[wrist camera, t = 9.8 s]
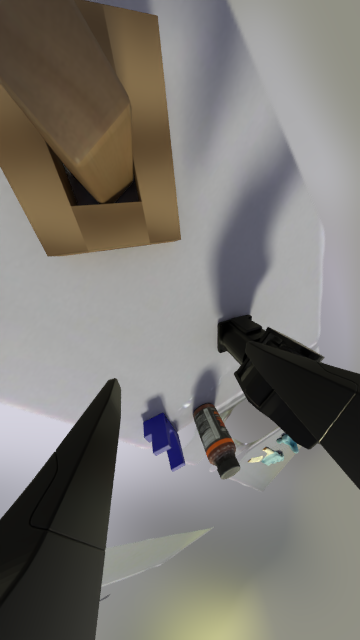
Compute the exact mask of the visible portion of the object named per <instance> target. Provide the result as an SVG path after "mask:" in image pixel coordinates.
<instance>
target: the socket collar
mask: <svg viewBox="0 0 360 640" xmlns="http://www.w3.org/2000/svg"><path fill="white" fill-rule="evenodd" d="M74 1H75V3H76V5H77V6H78V8H79V10H80V12H81V13H82V15H83V17H84V19H85V20H86V22H87V24H88V26H89V27H90V29H91V31H92V33H93V34H94V36H95V38H96V40H97V41H98V43H99V45H100V47H101V48H102V50H103V52H104V54H105V55H106V57H107V59H108V61H109V62H110V64H111V66H112V68H113V69H114V71H115V73H116V75H117V76H118V78H119V80H120V82H121V83H122V85H123V87H124V89H125V90H126V92H127V94H128V96H129V99H130V103H131V106H132V139H133V174H134V179H135V184H136V189H137V194H138V199H139V202H128V203H113V204H98V205H83V206H78V204H77V201H76V198H75V196H74V193H73V190H72V188H71V185H70V182H69V180H68V177H67V174H66V172H65V169H64V166H63V163H62V161H61V160H60V159H59V157H58V156H57V155H56V154H55V152H54V151H53V150H52V148H51V147H50V146H49V145H48V143H47V142H46V141H45V140H44V138H43V137H42V136H41V134H40V133H39V132H38V131H37V129H36V128H35V127H34V126H33V124H32V123H31V122H30V121H29V119H28V118H27V117H26V115H25V114H24V113H23V112H22V110H21V109H20V108H19V107H18V105H17V104H16V103H15V102H14V100H13V99H12V98H11V96H10V95H9V94H8V93H7V91H6V90H5V89H4V88H3V86H2V85H1V84H0V167H1V169H2V171H3V172H4V174H5V176H6V178H7V180H8V182H9V184H10V186H11V188H12V189H13V191H14V193H15V195H16V197H17V199H18V201H19V203H20V205H21V207H22V208H23V210H24V212H25V214H26V216H27V218H28V220H29V222H30V224H31V225H32V227H33V229H34V231H35V233H36V235H37V237H38V239H39V241H40V242H41V244H42V246H43V248H44V250H45V252H46V254H47V256H66V255H74V254H82V253H89V252H97V251H105V250H112V249H120V248H128V247H136V246H143V245H151V244H159V243H166V242H174V241H178V240H181V235H180V225H179V216H178V206H177V197H176V187H175V178H174V168H173V159H172V149H171V139H170V130H169V120H168V111H167V101H166V92H165V82H164V73H163V63H162V54H161V44H160V34H159V25H158V16H157V15H152V14H147V13H142V12H138V11H133V10H128V9H123V8H119V7H114V6H109V5H104V4H100V3H95V2H90V1H85V0H74Z"/></svg>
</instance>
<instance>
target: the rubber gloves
mask: <svg viewBox="0 0 360 640" xmlns="http://www.w3.org/2000/svg"><path fill="white" fill-rule="evenodd" d="M281 442H282V443H285V444H288V445H289V446H290V448H291V450H292V451H293V452H294V453H298V452H299V451H298V447H297V444H296V442H294V441H293V440H292V439H291V438H290V437H289V436H288V435H287V434H285V435H284V436H282V439H278V440H277V443H279V444H281ZM263 451H265V452H266V453H267V455H266V457H265V458H264V459H263V460H262V461H261V459H262V457H263V456H260V457H256V458H251V459H250V460H249V461H248V462H259V461H261V462H263V463H264V464H266V465H270V464H271V463H276V462H280V461H283V460H284V455H283V454H281V456H280V455H279V453H278V452H276V451H272V450H271V449H269V448H266V447H265V448H264V449H263Z"/></svg>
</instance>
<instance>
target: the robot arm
mask: <svg viewBox="0 0 360 640" xmlns="http://www.w3.org/2000/svg"><path fill="white" fill-rule="evenodd" d="M221 325H222V326H221ZM218 351H219V353H222V352H225V351H228V352H229V353H230V354H231V355H232V356H233V357H234V358H235V360H236V361H237V362H238V363H239V364H240V365H241V366H240V367H239V369H238V370H237V371H236V372H235V373H234V375H235V377H236V379H237V381H238V383H239V385H240V387H241V389H242V391H243V392H244V394H245V396H246V398H247V400H248V401H249V402H250V403H251V404H252V405H253V406H254V407H255V408H256V409H258V410H259V411H260V412H262V413H263V414H265V415H266V416H267V417H269V418H270V419H271V420H272V421H274V422H275V423H276V424H277V425H278V426H279V427H280V428H281V429H282V430H283V431H284V432H285V433H286V434H287V435H288V436H289V437H290V438H291V439H292V440H293V441H294V442H296V443H297V444H299V445H301V446H303V447H305V448H307V449H311V448H312V447H314V446H315V445H316V444H317V443H318V444H321V445H322V446H323V448H324V449H325V450H326V451H327V452H328V453H329V455H330V456H331V457H332V458H333V459H334V460H335V461H336V463H337V464H338V465H339V466H340V467H341V468H342V470H343V471H344V472H345V473H346V474H347V475H348V477H349V478H350V479H351V480H352V481H353V482H354V484H355V485H356V486H357V487H358V488H359V489H360V374H358V373H354V372H351V371H347V370H344V369H340V368H337V367H334V366H330V365H327V364H324V363H322V362H320V361H322V360H323V359H324V357H323V356H322V355H320V354H318V353H316V352H315V351H313V350H311V349H310V348H308V347H306V346H304V345H303V344H301V343H299V342H297V341H295V340H293V339H292V338H290V337H288V336H286V335H284V334H282V333H280V332H278V331H276V330H274V329H271V328H269V327H268V328H267V329H266V331H265V330H263V329H262V326H260V325H259V324H257V323H255V322H253V321H252V316H250V315H246V316H241V317H237V318H233V319H231V320H227V321H224V322H220V323H219V324H218ZM120 420H121V387H120V385H119V383H118V380H117V379H116V378H114V379H110V380H108V381H107V383H106V384H105V385H104V387H103V388H102V389H101V391H100V392H99V393H98V395H97V396H96V397H95V399H94V400H93V401H92V403H91V404H90V405H89V407H88V408H87V409H86V411H85V412H84V413H83V415H82V416H81V417H80V419H79V420H78V421H77V422H76V424H75V425H74V426H73V428H72V429H71V431H70V432H69V433H68V434H67V436H66V437H65V438H64V440H63V441H62V443H61V444H60V445H59V447H58V448H57V449H56V452H54V453H53V454H52V456H51V457H50V458H49V460H48V461H47V462H46V463H45V465H44V466H43V467H42V469H41V470H40V471H39V472H38V474H37V475H36V476H35V478H34V479H33V480H32V482H31V483H30V484H29V485H28V486H27V488H26V489H25V490H24V491H23V493H22V494H21V495H20V496H19V498H18V499H17V500H16V501H15V502H14V504H13V505H12V506H11V507H10V508H9V510H8V511H7V512H6V513H5V515H4V516H3V517H2V518H1V519H0V640H95V635H96V627H97V618H98V609H99V601H100V592H101V584H102V575H103V567H104V558H105V548H106V540H107V531H108V523H109V515H110V506H111V498H112V489H113V480H114V472H115V463H116V454H117V446H118V438H119V429H120Z"/></svg>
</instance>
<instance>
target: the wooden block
mask: <svg viewBox="0 0 360 640" xmlns="http://www.w3.org/2000/svg"><path fill="white" fill-rule="evenodd" d="M0 84H1V85H2V86H3V88H4V89H5V90H6V91H7V93H8V94H9V95H10V96H11V98H12V99H13V100H14V102H15V103H16V104H17V105H18V107H19V108H20V109H21V110H22V112H23V113H24V114H25V115H26V117H27V118H28V119H29V121H30V122H31V123H32V124H33V126H34V127H35V128H36V129H37V131H38V132H39V133H40V134H41V136H42V137H43V138H44V140H45V141H46V142H47V143H48V145H49V146H50V147H51V148H52V150H53V151H54V152H55V154H56V155H57V156H58V157H59V159H60V160H61V161H62V162H63V164H64V165H65V166H66V167H67V169H68V170H69V171H70V172H71V173H72V174H73V175H74V177H75V178H76V179H77V180H78V181H79V182H80V183H81V184H82V185H83V187H84V188H85V189H86V190H87V191H88V192H89V193H90V194H91V195H92V197H93V198H94V199H95V200H96V201H97V202H98V203H99V204H113V203H115V202H116V201H117V200H118V199H119V197H120V196H121V195H122V194H123V193H124V192H125V191H126V190H127V189H128V187H129V186H130V185H131V184H132V183H133V139H132V106H131V103H130V99H129V96H128V94H127V92H126V90H125V89H124V87H123V85H122V83H121V82H120V80H119V78H118V76H117V75H116V73H115V71H114V69H113V68H112V66H111V64H110V62H109V61H108V59H107V57H106V55H105V54H104V52H103V50H102V48H101V47H100V45H99V43H98V41H97V40H96V38H95V36H94V34H93V33H92V31H91V29H90V27H89V26H88V24H87V22H86V20H85V19H84V17H83V15H82V13H81V12H80V10H79V8H78V6H77V5H76V3H75V1H74V0H0Z"/></svg>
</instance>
